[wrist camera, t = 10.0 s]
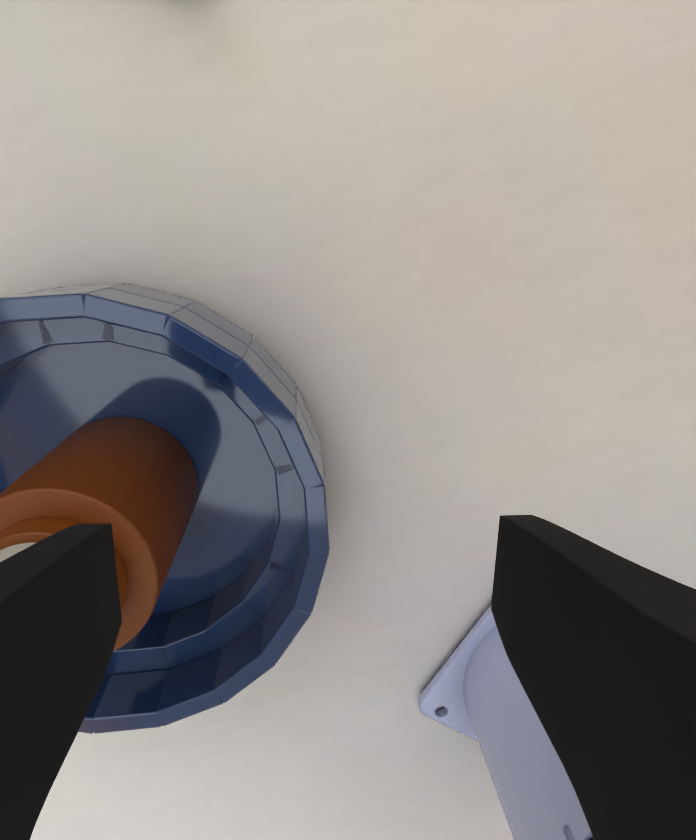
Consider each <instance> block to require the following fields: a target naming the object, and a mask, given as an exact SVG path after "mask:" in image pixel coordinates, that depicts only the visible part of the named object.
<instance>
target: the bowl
mask: <svg viewBox="0 0 696 840" xmlns="http://www.w3.org/2000/svg"><path fill="white" fill-rule="evenodd" d="M109 417H131V418H136V419H141V420H144V421H147V422H150V423H152V424H154V425H157V426H159V427H161V428H162V429H164V430H165V431H167V432H168V433H170V434H171V435H172V436H173V437H175V438H176V439H177V440H178V441H179V442H180V443H181V445H182V446H183V447H184V448H185V450H186V451H187V452H188V454H189V456H190V458H191V460H192V462H193V464H194V467H195V469H196V473H197V478H198V497H197V502H196V505H195V508H194V511H193V513H192V516H191V518H190V521H189V523H188V525H187V528H186V530H185V533H184V535H183V538H182V540H181V543H180V545H179V548H178V550H177V553H176V555H175V558H174V560H173V562H172V565H171V567H170V570H169V572H168V575H167V577H166V580H165V582H164V585H163V587H162V590H161V592H160V595H159V597H158V599H157V602H156V604H155V607H154V609H153V612H152V614H151V616H150V617H149V619H148V621H147V623H146V624H145V625H144V627H143V628H142V629H141V631H140V632H139V633H138V634H137V635H136V636H135V637H134V638H133V639H131V640H130V641H129V642H127V643H126V644H125V645H124V646H122V647H120V648H119V649H117V650H115V651H113V653H112V656H111V659H110V662H109V665H108V668H107V671H106V673H105V675H104V678H103V680H102V682H101V684H100V686H99V688H98V691H97V693H96V695H95V697H94V699H93V701H92V703H91V705H90V708H89V710H88V712H87V714H86V716H85V718H84V720H83V722H82V724H81V726H80V728H79V730H78V732H84V733H90V734H91V733H93V732H94V733H105V732H115V731H125V730H135V729H144V728H154V727H161V726H165V725H168V724H170V723H173V722H176V721H178V720H181V719H184V718H186V717H189V716H192V715H194V714H197V713H199V712H202V711H205V710H207V709H210V708H213V707H215V706H218V705H221V704H223V702H224V703H225V702H227V701H228V700H229V699H231V698H232V697H233V696H235V695H236V694H237V693H239V692H240V691H241V690H243V689H244V688H245V687H247V686H248V685H249V684H251V683H252V682H253V681H255V680H256V679H257V678H259V677H260V676H261V675H263V674H264V673H265V672H267V671H268V670H269V669H271V668H272V667H273V666H274V665H275V664H276V663H277V662H278V660H279V659H280V657H281V656H282V655H283V653H284V652H285V650H286V649H287V647H288V646H289V645H290V643H291V642H292V640H293V639H294V637H295V636H296V635H297V633H298V632H299V630H300V629H301V628H302V626H303V625H304V623H305V622H306V620H307V619H308V618H309V616H310V615H311V612H312V611H313V608H314V604H315V601H316V597H317V594H318V590H319V587H320V583H321V580H322V576H323V573H324V569H325V565H326V562H327V558H328V555H329V535H328V521H327V507H326V493H325V481H324V470H323V460H322V450H321V442H320V438H319V436H318V433H317V431H316V429H315V426H314V424H313V422H312V419H311V417H310V415H309V412H308V410H307V408H306V405H305V403H304V401H303V398H302V396H301V393H300V391H299V389H298V387H297V386H296V385H295V383H294V381H293V380H292V379H291V378H290V377H289V376H288V375H287V373H286V372H285V371H284V370H283V369H282V368H281V367H280V365H279V364H278V363H277V362H276V361H275V360H274V359H273V357H272V356H271V355H270V354H269V353H268V352H267V351H266V349H265V348H264V347H263V346H262V345H261V344H260V343H259V341H258V340H257V339H256V338H253V335H251V334H250V333H248V332H246V331H245V330H243V329H242V328H240V327H238V326H237V325H235V324H233V323H232V322H230V321H228V320H227V319H225V318H224V317H222V316H220V315H219V314H217V313H215V312H214V311H212V310H210V309H209V308H207V307H206V306H204V305H202V304H201V303H199V302H197V301H195V300H192V299H188V298H184V297H180V296H176V295H172V294H168V293H164V292H160V291H157V290H153V289H149V288H145V287H141V286H137V285H133V284H126V283H121V284H105V285H88V286H71V287H58V288H52V289H47V290H41V291H35V292H30V293H25V294H19V295H13V296H8V297H2V298H0V493H1V492H2V491H4V490H5V489H6V488H7V487H8V486H10V485H11V484H12V483H13V482H14V481H16V480H17V479H18V478H19V477H20V476H22V475H23V474H24V473H25V472H27V471H28V470H29V469H30V468H31V467H33V466H34V465H35V464H36V463H37V462H39V461H40V460H41V459H42V458H43V457H45V456H46V455H47V454H48V453H50V452H51V451H52V450H53V449H54V448H56V447H57V446H58V445H59V444H60V443H62V442H63V441H64V440H65V439H66V438H68V437H69V436H70V435H71V434H73V433H74V432H75V431H76V430H78V429H79V428H81V427H82V426H84V425H86V424H88V423H91V422H93V421H96V420H99V419H103V418H109Z"/></svg>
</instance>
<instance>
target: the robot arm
mask: <svg viewBox="0 0 696 840" xmlns="http://www.w3.org/2000/svg"><path fill="white" fill-rule="evenodd" d="M121 623H122V615H121V606H120V597H119V588H118V579H117V570H116V560H115V551H114V542H113V533H112V524H111V523H106V524H76V525H73V526H70V527H68V528H65V529H63V530H61V531H59V532H57V533H55V534H53V535H51V536H49V537H47V538H45V539H43V540H41V541H39V542H37V543H35V544H33V545H31V546H30V547H28V548H26V549H24V550H22V551H20V552H18V553H16V554H14V555H13V556H11V557H9V558H7V559H5V560H3V561H1V562H0V840H30V837H31V834H32V832H33V829H34V826H35V823H36V821H37V819H38V816H39V814H40V812H41V809H42V807H43V805H44V802H45V800H46V798H47V795H48V793H49V791H50V789H51V787H52V784H53V782H54V780H55V778H56V776H57V774H58V772H59V770H60V768H61V766H62V764H63V762H64V760H65V757H66V755H67V753H68V751H69V749H70V747H71V745H72V743H73V741H74V739H75V737H76V735H77V733H78V730H79V728H80V726H81V724H82V722H83V720H84V718H85V716H86V714H87V712H88V710H89V708H90V705H91V703H92V701H93V699H94V697H95V695H96V693H97V691H98V688H99V686H100V684H101V682H102V680H103V678H104V675H105V673H106V671H107V668H108V665H109V662H110V659H111V656H112V653H113V650H114V647H115V643H116V640H117V637H118V633H119V630H120V627H121ZM418 706H419V710H420V712H421V713H422V714H424V715H425V716H427V717H429V718H432V719H434V720H436V721H438V722H440V723H442V724H444V725H446V726H448V727H450V728H452V729H454V730H456V731H458V732H460V733H462V734H464V735H466V736H469V737H471V738H473V739H475V740H477V741H479V743H480V746H481V749H482V752H483V755H484V758H485V760H486V763H487V766H488V769H489V772H490V774H491V777H492V780H493V783H494V786H495V788H496V791H497V794H498V797H499V800H500V802H501V805H502V808H503V811H504V814H505V816H506V819H507V822H508V825H509V828H510V830H511V833H512V836H513V839H514V840H696V589H693V588H691V587H688V586H686V585H683V584H681V583H678V582H676V581H674V580H672V579H669V578H667V577H665V576H662V575H660V574H658V573H656V572H653V571H651V570H649V569H646V568H644V567H642V566H640V565H638V564H636V563H633V562H631V561H629V560H627V559H625V558H623V557H621V556H619V555H617V554H614V553H612V552H610V551H608V550H606V549H604V548H602V547H600V546H598V545H596V544H594V543H592V542H590V541H588V540H586V539H584V538H582V537H580V536H578V535H576V534H574V533H572V532H570V531H568V530H566V529H564V528H562V527H560V526H558V525H556V524H553V523H551V522H549V521H547V520H544V519H542V518H539V517H536V516H533V515H507V516H500V521H499V532H498V542H497V552H496V563H495V573H494V583H493V594H492V604H491V605H490V606H489V608H488V609H487V610H486V611H485V613H484V614H483V615H482V617H481V618H480V619H479V620H478V622H477V623H476V624H475V626H474V627H473V628H472V629H471V631H470V632H469V633H468V634H467V636H466V637H465V638H464V640H463V641H462V642H461V643H460V645H459V646H458V647H457V649H456V650H455V651H454V652H453V654H452V655H451V656H450V657H449V659H448V660H447V661H446V663H445V664H444V665H443V666H442V668H441V669H440V670H439V672H438V673H437V674H436V675H435V677H434V678H433V679H432V680H431V682H430V683H429V684H428V686H427V687H426V688H425V689H424V691H423V692H422V693H421V695H420V696H419V698H418ZM442 706H443V707H444V708H443V709H440V710H437V708H438V707H442Z"/></svg>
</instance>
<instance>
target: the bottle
mask: <svg viewBox="0 0 696 840" xmlns="http://www.w3.org/2000/svg"><path fill="white" fill-rule="evenodd" d="M197 497H198V478H197V473H196V469H195V467H194V464H193V462H192V460H191V458H190V456H189V454H188V452H187V451H186V450H185V448H184V447H183V446H182V445H181V443H180V442H179V441H178V440H177V439H176V438H175V437H173V436H172V435H171V434H170V433H168V432H167V431H165V430H164V429H162V428H161V427H159V426H157V425H154V424H152V423H150V422H147V421H144V420H141V419H136V418H131V417H109V418H103V419H99V420H96V421H93V422H91V423H88V424H86V425H84V426H82V427H81V428H79V429H78V430H76V431H75V432H74V433H73V434H71V435H70V436H69V437H68V438H66V439H65V440H64V441H63V442H62V443H60V444H59V445H58V446H57V447H56V448H54V449H53V450H52V451H51V452H50V453H48V454H47V455H46V456H45V457H43V458H42V459H41V460H40V461H39V462H37V463H36V464H35V465H34V466H33V467H31V468H30V469H29V470H28V471H27V472H25V473H24V474H23V475H22V476H20V477H19V478H18V479H17V480H16V481H14V482H13V483H12V484H11V485H10V486H8V487H7V488H6V489H5V490H4V491H2V492H1V493H0V562H1V561H3V560H5V559H7V558H9V557H11V556H13V555H14V554H16V553H18V552H20V551H22V550H24V549H26V548H28V547H30V546H31V545H33V544H35V543H37V542H39V541H41V540H43V539H45V538H47V537H49V536H51V535H53V534H55V533H57V532H59V531H61V530H63V529H65V528H68V527H70V526H73V525H76V524H106V523H111V524H112V533H113V542H114V551H115V560H116V570H117V579H118V588H119V597H120V606H121V615H122V623H121V627H120V630H119V633H118V637H117V640H116V643H115V647H114V650H113V651H115V650H117V649H119V648H120V647H122V646H124V645H125V644H126V643H127V642H129V641H130V640H131V639H133V638H134V637H135V636H136V635H137V634H138V633H139V632H140V631H141V629H142V628H143V627H144V625H145V624H146V623H147V621H148V619H149V617H150V616H151V614H152V612H153V609H154V607H155V604H156V602H157V599H158V597H159V595H160V592H161V590H162V587H163V585H164V582H165V580H166V577H167V575H168V572H169V570H170V567H171V565H172V562H173V560H174V558H175V555H176V553H177V550H178V548H179V545H180V543H181V540H182V538H183V535H184V533H185V530H186V528H187V525H188V523H189V521H190V518H191V516H192V513H193V511H194V508H195V505H196V502H197Z"/></svg>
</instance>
